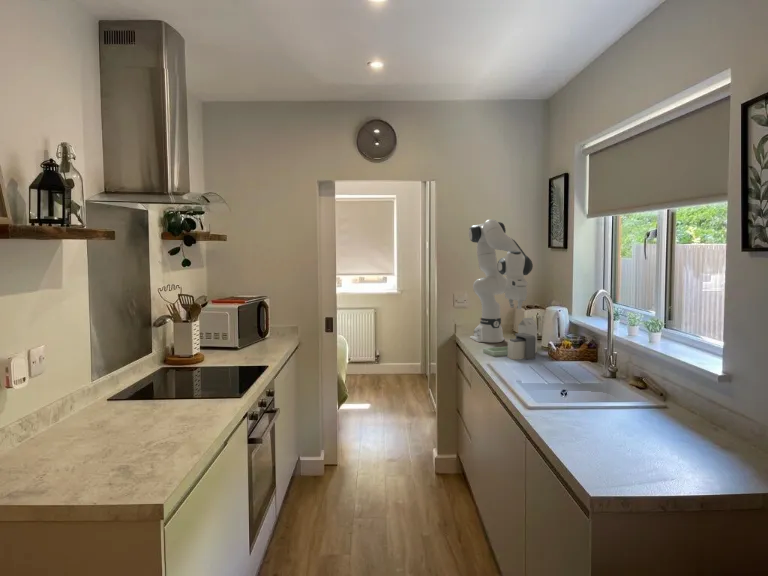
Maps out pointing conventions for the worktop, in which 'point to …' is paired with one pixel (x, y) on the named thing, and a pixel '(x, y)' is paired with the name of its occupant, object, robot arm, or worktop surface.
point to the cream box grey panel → (517, 348)
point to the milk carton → (529, 328)
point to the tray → (496, 351)
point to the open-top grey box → (528, 344)
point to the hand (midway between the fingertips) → (515, 308)
